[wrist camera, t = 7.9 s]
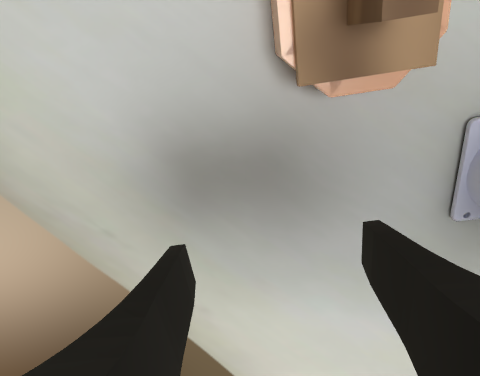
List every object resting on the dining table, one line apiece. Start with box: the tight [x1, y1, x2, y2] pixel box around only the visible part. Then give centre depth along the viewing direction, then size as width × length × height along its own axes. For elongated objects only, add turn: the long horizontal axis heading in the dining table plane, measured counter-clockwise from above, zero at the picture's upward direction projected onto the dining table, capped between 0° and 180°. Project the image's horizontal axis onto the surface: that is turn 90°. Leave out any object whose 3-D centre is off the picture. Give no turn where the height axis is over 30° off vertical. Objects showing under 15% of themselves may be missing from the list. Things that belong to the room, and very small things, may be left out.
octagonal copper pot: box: [271, 0, 451, 97], centre depth 16 cm, size 8×8×3 cm
